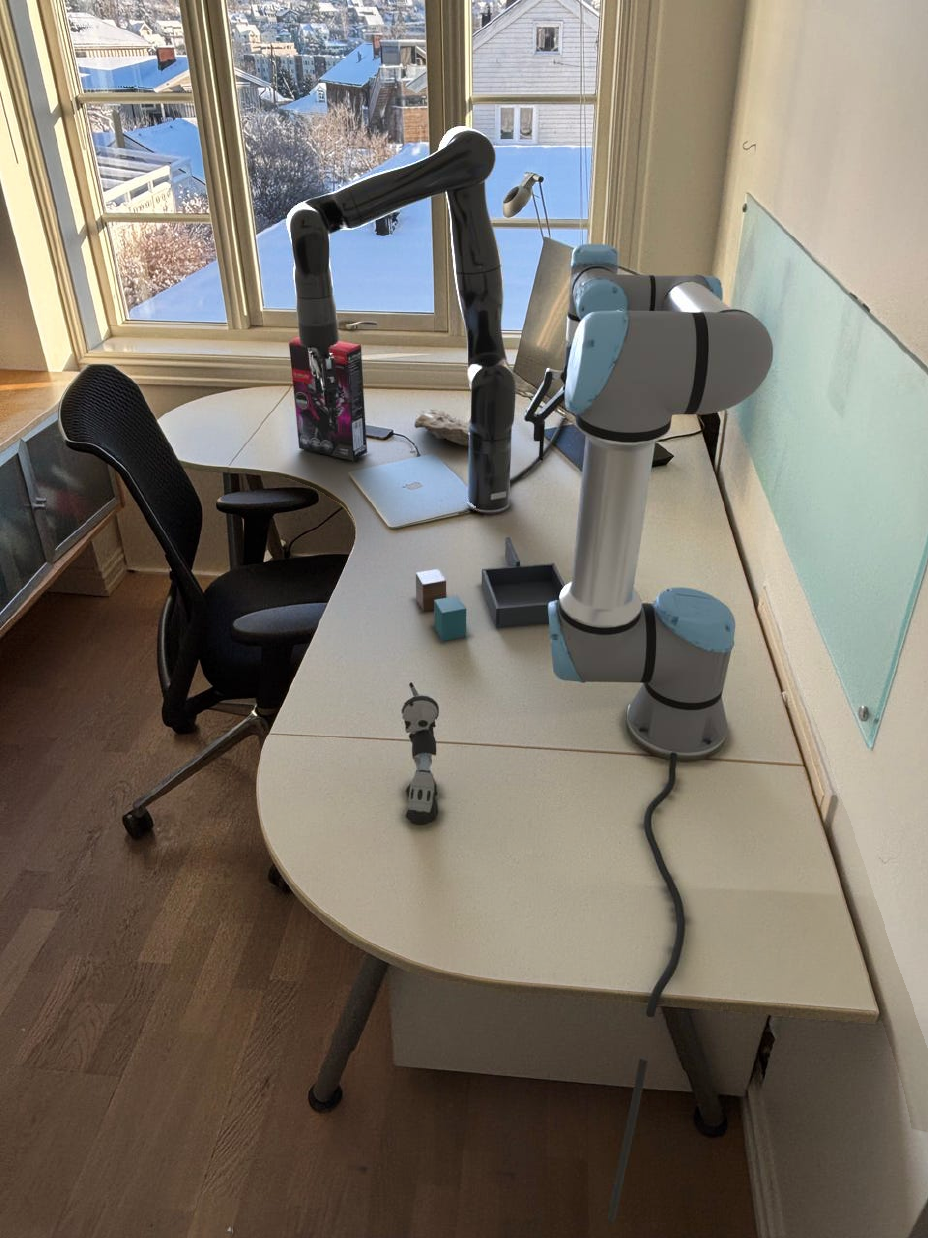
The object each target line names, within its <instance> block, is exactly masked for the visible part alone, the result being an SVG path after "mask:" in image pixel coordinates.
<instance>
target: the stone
mask: <svg viewBox="0 0 928 1238" xmlns="http://www.w3.org/2000/svg"><path fill="white" fill-rule="evenodd" d="M414 420H415V422H414V424H413V425H414V428H416V429H419V428H420V429H421V428H422V429H423V428H424V429H425V430H426V431H427V432H428V433H430V434H433V435H435V438H436V439H438V440H445V439H446V440H448V441H450V442H452V443H457V444H459V445H462V446H466V447H469V421H464V420H460V419H458V418H457V417H452V416H451V415H450V414H449V413H446V412H445V411H442V410H437V409H429V410H422V411H421V412H420V413H419V415H416V417H415V418H414Z"/></svg>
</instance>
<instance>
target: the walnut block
mask: <svg viewBox="0 0 928 1238" xmlns="http://www.w3.org/2000/svg"><path fill="white" fill-rule="evenodd" d="M442 598H447V580H446V578H445V577H444V575H443V573H442V572H441V570H440V568H434V569H430V570H423V571H418V572H415V600H416V602H417V604H418V605H419V607H420V609H421V611H422V612H423V613H426V612H431V611H434V600H437V599H442Z"/></svg>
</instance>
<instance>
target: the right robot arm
mask: <svg viewBox="0 0 928 1238" xmlns="http://www.w3.org/2000/svg"><path fill="white" fill-rule="evenodd" d="M571 254H572V255H571V261H570V266H569V270H570V273H569V274H570V275H569V291H568V310H567V317H566V319H567V320H566V332H565V340H566V341H567V342H566V343H565V346H564V361H563V368H562V370H556V369H553V368H552V367H551V366H548V367H546V368H545V372H544V378H543V380H542V382H541V384H540V385H539V387H538V389H537V391H536V393H535V394H534V396H533V398H532V399H531V401H530V403H529V404H528V406H527V408H526V409H525V412H524V417H523V419H524V421H525V422H527V423H529V422H530V423H532V424H533V438H532V439H533V441H534V442H539V445H538V456H539V460H540V461H544V456H543V450H544V449H545V448H544V447H545V444H544V443H545V433H546V431H545V430H546V419H548V417H550V415H551V414H552V413H553V412H555V410H556V409H557V408H559V406H560V405H562V403H563V402H564V406H565V409H566V411H569V412H570V413H571V414H573V415H575V417H574V423H575V426H576V428H577V429H578V430H579V432H581V433H582V434H583V435H584V436H585V440H584V441H585V442H584V450H583V451H584V452H583V461H582V462H583V463H582V473H581V482H580V493H579V503H578V514H577V524H576V535H575V544H574V555H573V564H572V574H571V575H572V576H571V581H569V582H568V583H567V584H565V587H564V588H563V589H562V591H561V593H560V598H559V600H555V601H553V602H550V603H549V604H548V614H549V623H548V625H549V636H550V647H551V649H550V650H551V660H552V661H551V662H552V670H553V673H554V675H555V676H556V678H558V679H559V680H562V681H567V682H568V681H569V682H577V683H578V682H579V683H580V684H581V683H582V684H584V683H587V682H588V683H634V684H635V683H637V684H640V683H642V684H641V685H640V688H639V689H638V691H637V692H636V694H635V695H634V697H633V699H632V701H631V702H630V704H629V705H628V707H627V711H626V719H625V728H626V732H627V734H628V736H629V738H630V739H631V741H632V742H634V744H636V745H637V746H638V747H639V748H640V749H641V750H643V751H645V752H646V753H648V754H650V755H651V756H654V757H656V758H659V759H662V760H666V761H669V765H668V779H667V782H666V784H665V787H663V789H662V791H661V792H659V793H658V794H657V795H656V796H655V798H653V800H651V802H649V804H648V806H647V808H646V810H645V813H644V817H643V818H644V820H643V828H644V832H645V836H646V840H647V842H648V845H649V848H650V850H651V852H652V855H653V858H654V860H655V863H656V865H657V868H658V870H659V873H660V875H661V876H662V878H663V881H664V882H665V884H666V886H667V888H668V890H669V892H670V894H671V895H670V896H671V898H672V900H673V903H674V904H673V905H674V909H675V918H676V933H675V941H674V946H673V949H672V953H671V955H670V959H669V961H668V964H667V966H666V967H665V970H664V971H663V973H662V974H661V976H659V979H658V980H657V982H656V984H655V985H654V987H653V990H652V992H651V994H650V997H649V1000H648V1002H647V1006H646V1009H645V1014H646V1016H647V1017H648V1018H653V1017H654V1016H655V1014H656V1011H657V1007H658V1004H659V1001H660V999H661V996H662V994H663V992H664V990H665V988H666V986H667V985H668V983H669V981H670V980H671V979H672V977H673V975H674V973H675V972H676V970H677V968H678V965H679V961H680V959H681V953H682V950H683V946H684V939H685V934H686V919H685V917H686V916H685V910H684V905H683V900H682V897H681V894H680V891H679V889H678V887H677V885H676V882H675V881H674V879H673V878H672V875H671V874H670V872H669V870H668V868H667V866H666V863H665V860H664V858H663V855H662V853H661V850H660V847H659V845H658V842H657V839H656V838H655V835H654V832H653V827H652V817H653V814H654V812H655V810H656V809H657V807H659V805H660V804H661V803H662V802H663V801H664V800H665V799H666V798H667V797H668V796H669V795H670V793H671V792H672V791H673V789H674V786H675V783H676V776H677V772H676V771H677V763H694V762H700V761H703V760H706V759H709V758H711V757H714V755H716V754H718V752H720V751H721V750H722V748H723V747H724V744H725V743H726V740H727V739H726V738H727V734H728V721H727V716H726V712H725V708H724V707H725V706H724V701H723V692H724V686H725V682H726V678H727V672H728V668H729V664H730V659H731V654H732V651H733V649H734V646H735V632H736V620H735V617H734V614H733V612H732V611H731V609H730V608H729V607H728V606H727V605H726V604H725V603H724V602H723V601H722V600H720V599H718V598H717V597H715V596H713V595H711V594H710V593H708V592H705V591H702V590H699V589H695V588H690V587H683V586H682V587H681V586H679V587H678V586H676V587H669V588H667V589H665V590H662V591H660V592H659V593H658V594H657V596H656V597H655V598H654V601H653V603H651V602H650V603H649V602H643V601H642V597H641V595H640V593H639V592H638V591H637V590H636V589H635V582H636V575H637V567H638V562H639V554H640V547H641V540H642V534H643V529H644V528H643V527H644V521H645V514H646V507H647V501H648V494H649V487H650V479H651V472H652V466H653V461H654V460H653V459H654V455H655V454H654V453H655V446H656V443H657V442H659V441H660V440H662V439H663V438H665V437H666V436H667V435H668V434H669V432H670V431H671V425H672V420H673V419H672V418H673V416H675V415H687V416H690V415H691V416H693V415H709V414H710V415H711V414H715V413H719V412H723V411H725V410H728V409H731V408H732V407H735V406H737V405H739V404H741V403H743V402H744V401H745V400H747V399H748V398H749V397H751V395H753V394H754V393H755V392H756V391H757V390H758V389H759V388H760V386H761V385H762V384H763V382H764V381H765V379H766V378H767V377H768V374H769V372H770V370H771V367H772V363H773V360H774V347H773V341H772V337H771V335H770V332H769V331H768V329H767V327H766V326H765V325H764V324H763V322H761V321H760V320H759V319H758V318H757V317H755V316H754V315H753V314H751V313H749V312H747V311H745V310H744V309H743V310H742V309H739V308H731V307H730V306H729V305H728V304H726V303H725V302H724V301H723V299H724V293H723V292H724V291H723V287H722V282H721V280H720V278H719V277H717V276H713V275H712V276H711V275H703V274H693V275H683V274H681V275H677V274H676V275H675V274H673V275H671V274H670V275H668V274H667V275H660V274H659V275H656V274H655V275H653V274H619V273H618V271H619V270H618V269H619V267H620V266H619V251H618V249H617V248H616V247H614V246H612V245H609V244H604V243H603V244H602V243H584V244H580V245H577V246H575V248H573V250H572V253H571ZM558 379H560V380H561V382H562V384H563V385H562V386H561V387H560V389H559V391H557V393H555V394H554V395H553V397H551V398H550V399H549V401H547V403H545V405H543V407H542V408H541V409H540V410H539V411H537V410H538V408H539V407H540V405H541V404H542V402H543V400H544V398H545V396H546V395H547V393H548V391H549V390H550V388H551V385H552V384H555V383H556V382H557V380H558ZM536 411H537V413H536ZM647 1067H648V1060H645V1059H641V1058H639V1059H638V1064H637V1069H636V1075H635V1080H634V1085H633V1091H632V1097H631V1101H630V1105H629V1112H628V1117H627V1121H626V1127H625V1130H624V1136H623V1142H622V1145H621V1150H620V1156H619V1161H618V1166H617V1170H616V1175H615V1180H614V1185H613V1189H612V1194H611V1200H610V1205H609V1210H608V1213H607V1214H608V1216H607V1219H608V1220H609V1221H610V1222H614V1221H615V1220H616V1217H617V1211H618V1206H619V1201H620V1196H621V1193H622V1188H623V1184H624V1179H625V1173H626V1168H627V1164H628V1159H629V1155H630V1150H631V1145H632V1142H633V1136H634V1132H635V1127H636V1122H637V1117H638V1112H639V1107H640V1104H641V1098H642V1093H643V1090H644V1089H643V1088H644V1083H645V1079H646V1072H647Z"/></svg>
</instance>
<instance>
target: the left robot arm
mask: <svg viewBox="0 0 928 1238" xmlns="http://www.w3.org/2000/svg"><path fill="white" fill-rule="evenodd" d="M496 157H497V156H496V149H495V147H494V144H493V143H492V142H491V140H490V139H489V137H487V136H486V135H485V134H483V133H482V132H480V131H478V130H476V129H473V128H471V127H468V126H456V127H454V128H451V129H450V130H448V131H447V132H446V134H444V136H443V138H442V140H441V141H440V143H439V147H438V150H437V151H436V152H434V153H432V154H431V155H429V156H427V157H425V158H422V159H420V160H418V161H416V162H413V163H411V164H407V165H404V166H401V167H397V168H394V169H390V170H386V171H382V172H379V173H375V174H373V175H370V176H367V177H365V178H363V179H360V180H358V181H355V182H353V183H351V184H349V185H347V186H344V187H342V188H340V189H339V190H337V191H334V192H331V193H327V194H323V195H320V196H317V197H313V198H310V199H307V200H305V201H303V202H300V203H298V204H297V205H295V206H293V208H291V210H290V211H289V212H288V214H287V218H286V227H287V230H288V233H289V238H290V242H291V249H292V258H293V262H294V263H293V264H294V267H293V280H294V289H295V290H294V291H295V311H296V321H297V329H298V335H299V336H298V337H299V338H300V343H301V344H302V345H303V346H305V347H308V354H309V364H310V365H309V367H310V369H312V371H311V372H312V374H313V375H314V385H315V392H316V393H317V394H322V393H323V396H324V405H325V407H326V408H332V407H335V406H336V398H335V389H336V388H337V386H338V384H337V378H336V369H335V359H334V357H333V355H332V353H331V354H330V351H329V347H331V346H332V345H335V344H337V343H338V341H340V336H339V326H338V315H337V314H338V313H337V306H336V300H335V296H334V285H333V276H332V275H333V274H332V269H331V241H330V239H331V238H330V235H332V234H335V233H337V232H340V231H342V230H354V229H358V228H361V227H362V226H365V225H367V224H370V223H372V222H375V221H376V220H377V221H378V220H379V219H381V218H384V217H386V216H388V215H390V214H392V213H394V212H397V211H399V210H402V209H404V208H406V207H408V206H410V205H413V204H415V203H418V202H421V201H423V200H427V199H429V198H432V197H435V196H439V195H441V194H444V193H445V194H446V199H447V205H448V210H449V218H450V234H451V235H450V237H451V249H452V260H453V270H454V279H455V285H456V291H457V292H456V293H457V297H458V303H459V308H460V312H461V317H462V320H463V324H464V328H465V335H466V349H467V350H466V351H467V353H466V354H467V382H468V386H469V388H470V417H469V419H468V422H469V445H468V454H467V455H468V458H467V459H468V460H467V461H468V462H467V467H468V468H467V470H468V471H467V500H468V501H469V502H470V503H472V504H473V505H474V506H476V508H473V507H471V506H470V505H469V504H468V502H467V507H468V509H470V510H471V511H473V512H475V513H479V514H484V515H493V514H499V513H502V512H505V511H506V510H508V509H509V508H510V488H511V486H510V485H511V484H513V483H516V482H517V481H518V480H519V479H521V478H522V477H523V476H525V475H526V474H527V473H529V472H530V471H531V470H533V468H534V467H535V466H536V465H538V464H539V462H540V461H541V460H539V455H538V456H537V457H536V458H535V459H534V460H533V461H532V462H531V463H530V464H529V465H528V466H527V467H525V468H524V469H523V470H521V472H519V473H518V474H517V475H515V476H513V477H512V478H511V465H512V464H511V463H512V462H511V461H512V460H511V459H512V438H513V437H512V436H513V435H512V434H513V433H512V432H513V425H514V422H515V411H516V398H517V397H516V396H517V395H516V394H517V384H516V377H515V374H514V373H513V371H512V368H511V367H510V365H509V364H510V363H509V361H508V357H507V354H506V349H505V343H504V338H503V331H502V330H503V329H502V318H503V308H504V292H505V291H504V277H503V268H502V267H503V266H502V258H501V252H500V249H499V248H500V247H499V244H498V240H497V237H496V234H495V230H494V227H493V224H492V220H491V217H490V214H489V210H488V209H489V208H488V203H487V194H486V193H487V192H486V180H487V179H488V178H489V177H490V176H491V175H492V173H493V171H494V169H495V165H496ZM327 378H330V379H331V383H327ZM565 421H566V419H565V418H563V417H562V418H561V420H560V421H559V423H558V425H557V427H556V429H555V431H554V433H553V436H552V437H551V438H550V440H549V442H548V444H547V445H546V446H545V448H544V449H543V457H545V455H546V454H547V453H548V452H549V450H550V448H551V447H552V446H553V444H554V442H555V441H556V439H557V437H558V435H559V433H560V431H561V429H562V427H563V426H564V423H565Z"/></svg>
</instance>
